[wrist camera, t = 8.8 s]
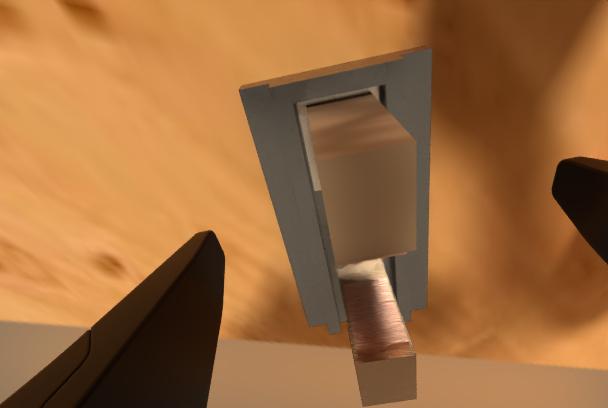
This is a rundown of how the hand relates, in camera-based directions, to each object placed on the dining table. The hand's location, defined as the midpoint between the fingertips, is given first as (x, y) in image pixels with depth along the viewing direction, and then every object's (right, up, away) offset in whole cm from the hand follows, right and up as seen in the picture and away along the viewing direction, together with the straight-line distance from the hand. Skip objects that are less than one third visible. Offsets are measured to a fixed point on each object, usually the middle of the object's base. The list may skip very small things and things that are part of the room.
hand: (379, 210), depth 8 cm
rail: (+1, -1, +14) cm, 14 cm away
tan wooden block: (0, +4, +10) cm, 11 cm away
